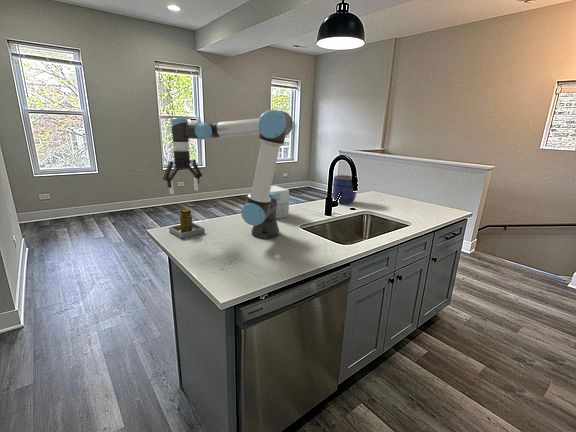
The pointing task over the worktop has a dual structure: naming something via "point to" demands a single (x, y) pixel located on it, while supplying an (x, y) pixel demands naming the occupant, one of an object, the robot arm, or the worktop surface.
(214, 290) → the worktop surface
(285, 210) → the supplement box
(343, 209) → the worktop surface
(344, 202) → the planter
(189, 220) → the condiment
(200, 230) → the bin
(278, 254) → the worktop surface
